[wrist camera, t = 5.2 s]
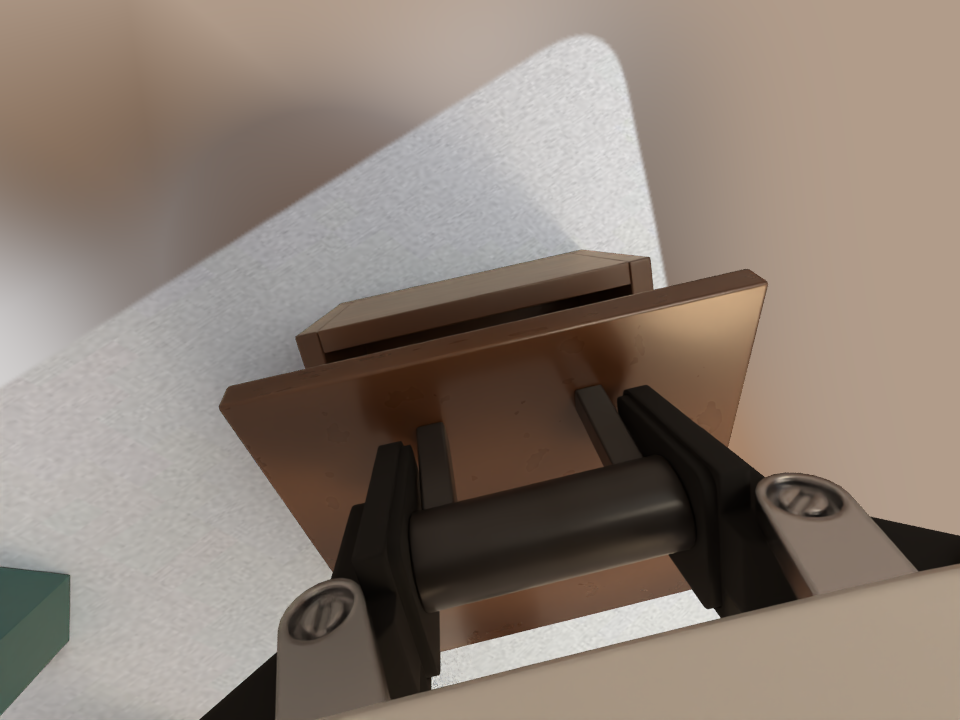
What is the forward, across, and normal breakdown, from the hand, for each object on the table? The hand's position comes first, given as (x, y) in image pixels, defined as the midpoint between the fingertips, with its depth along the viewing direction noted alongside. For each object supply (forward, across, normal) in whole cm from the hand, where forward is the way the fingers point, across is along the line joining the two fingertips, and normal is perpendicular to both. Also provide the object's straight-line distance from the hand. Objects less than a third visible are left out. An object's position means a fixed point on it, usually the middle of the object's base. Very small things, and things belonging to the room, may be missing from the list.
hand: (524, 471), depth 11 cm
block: (+13, +28, +10) cm, 32 cm away
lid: (+3, 0, +3) cm, 4 cm away
